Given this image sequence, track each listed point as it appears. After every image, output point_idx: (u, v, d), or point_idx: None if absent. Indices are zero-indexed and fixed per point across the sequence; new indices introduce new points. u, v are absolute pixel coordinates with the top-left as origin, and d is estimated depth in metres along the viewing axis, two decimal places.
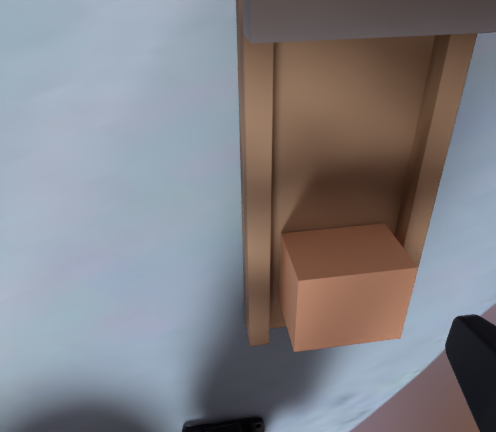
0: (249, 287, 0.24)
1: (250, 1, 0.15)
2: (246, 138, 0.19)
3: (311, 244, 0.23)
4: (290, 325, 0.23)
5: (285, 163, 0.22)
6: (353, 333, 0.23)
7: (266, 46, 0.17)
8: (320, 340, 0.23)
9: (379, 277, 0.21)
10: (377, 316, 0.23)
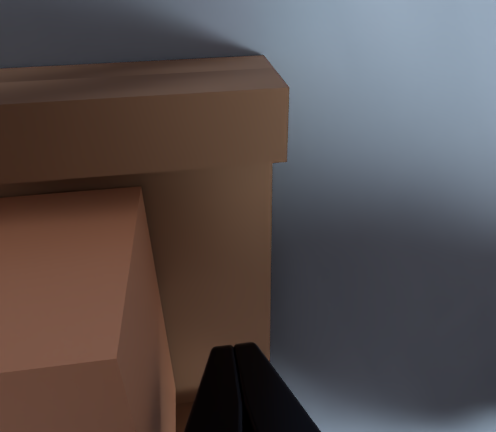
0: None
1: None
2: None
3: None
4: None
5: None
6: None
7: None
8: None
9: None
10: None
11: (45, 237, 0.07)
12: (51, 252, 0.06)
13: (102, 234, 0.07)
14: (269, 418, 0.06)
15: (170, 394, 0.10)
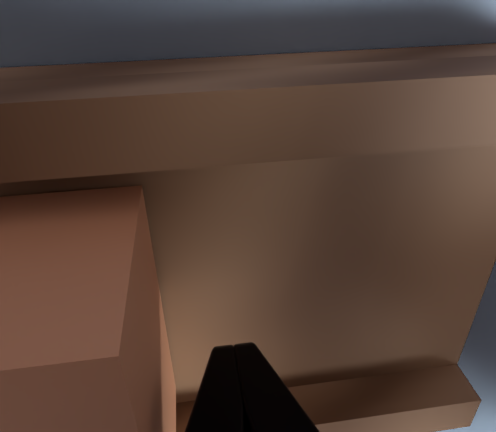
0: None
1: None
2: None
3: None
4: None
5: None
6: None
7: None
8: None
9: None
10: None
11: (47, 235, 0.07)
12: (52, 251, 0.06)
13: (103, 233, 0.07)
14: (268, 418, 0.06)
15: (171, 393, 0.10)
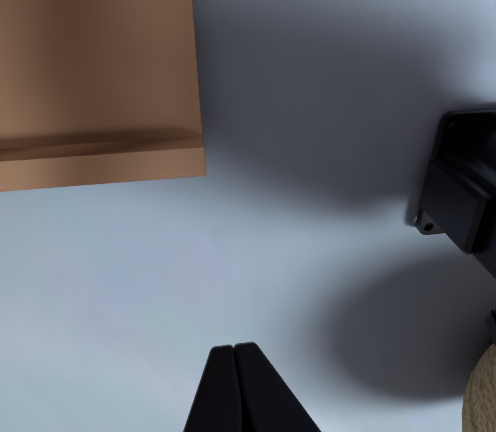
0: (80, 183, 0.16)
1: None
2: None
3: None
4: None
5: None
6: None
7: None
8: None
9: None
10: None
11: None
12: None
13: None
14: (269, 418, 0.06)
15: None
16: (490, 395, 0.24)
